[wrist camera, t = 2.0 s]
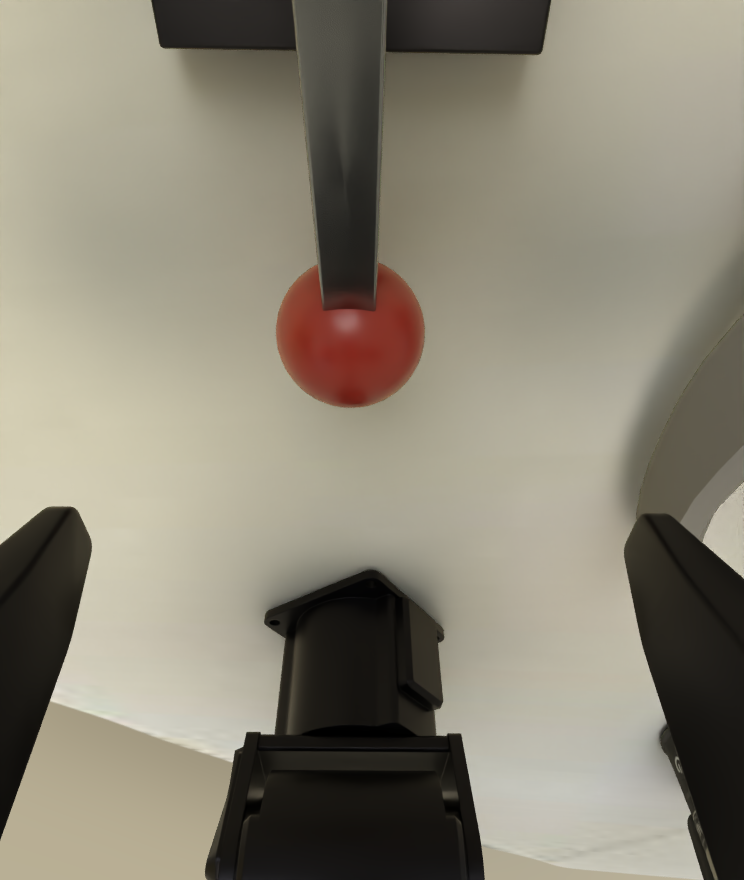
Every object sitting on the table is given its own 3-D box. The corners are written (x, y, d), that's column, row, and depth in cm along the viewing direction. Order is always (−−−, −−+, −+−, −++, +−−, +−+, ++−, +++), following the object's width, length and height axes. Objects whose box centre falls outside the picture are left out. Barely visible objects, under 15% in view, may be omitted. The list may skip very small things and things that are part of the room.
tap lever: (416, 317, 16) (420, 432, 15) (289, 315, 16) (281, 431, 15) (637, -1256, 3) (838, -1530, 2) (-10, -1293, 3) (-307, -1585, 2)
